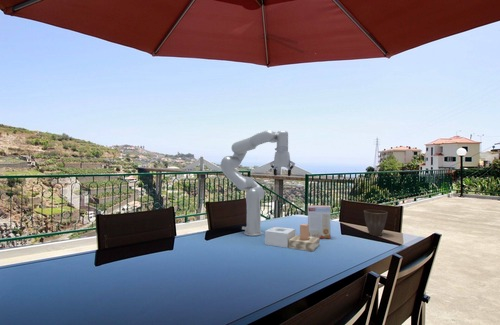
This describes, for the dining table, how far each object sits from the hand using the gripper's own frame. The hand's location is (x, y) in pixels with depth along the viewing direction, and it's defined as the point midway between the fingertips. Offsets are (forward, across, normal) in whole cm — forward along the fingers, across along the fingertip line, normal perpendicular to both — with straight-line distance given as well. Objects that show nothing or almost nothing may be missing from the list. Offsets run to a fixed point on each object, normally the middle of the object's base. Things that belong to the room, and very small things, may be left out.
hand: (282, 175), depth 192 cm
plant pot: (+40, +54, +37) cm, 77 cm away
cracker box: (+40, +22, +10) cm, 47 cm away
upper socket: (+40, +5, -15) cm, 43 cm away
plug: (+40, +20, -15) cm, 47 cm away
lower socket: (+40, +20, -15) cm, 47 cm away
